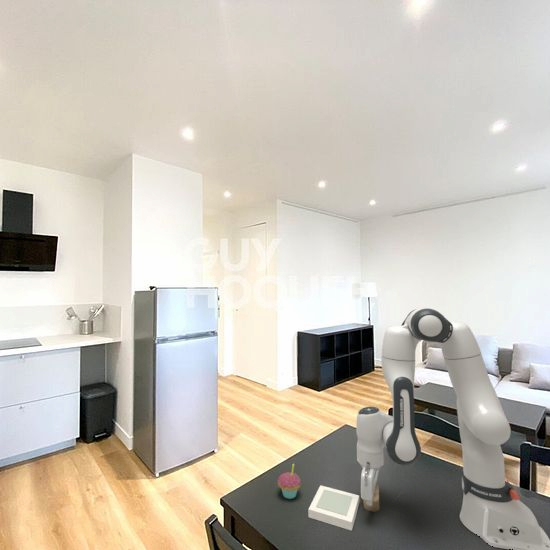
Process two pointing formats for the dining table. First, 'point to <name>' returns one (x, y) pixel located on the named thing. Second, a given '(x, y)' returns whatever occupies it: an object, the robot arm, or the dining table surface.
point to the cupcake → (289, 483)
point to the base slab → (334, 507)
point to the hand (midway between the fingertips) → (371, 498)
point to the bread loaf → (375, 501)
